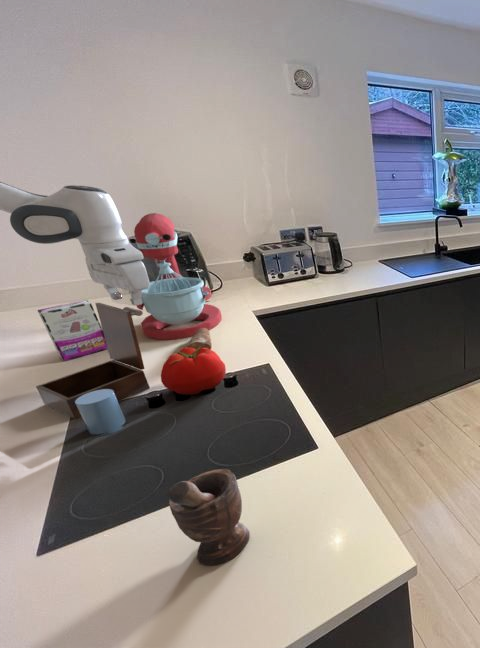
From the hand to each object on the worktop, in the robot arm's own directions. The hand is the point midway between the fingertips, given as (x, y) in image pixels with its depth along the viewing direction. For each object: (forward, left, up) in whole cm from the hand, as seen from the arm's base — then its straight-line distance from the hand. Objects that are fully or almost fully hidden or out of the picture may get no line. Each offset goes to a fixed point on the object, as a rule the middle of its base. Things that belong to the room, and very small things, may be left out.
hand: (127, 301), depth 108 cm
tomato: (+1, -18, -24) cm, 30 cm away
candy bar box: (-1, +36, -24) cm, 43 cm away
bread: (+18, +8, -24) cm, 31 cm away
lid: (-5, 0, -9) cm, 10 cm away
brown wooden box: (-13, 0, -24) cm, 27 cm away
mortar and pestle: (-29, -74, -24) cm, 83 cm away
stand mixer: (+27, +33, -24) cm, 49 cm away
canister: (-19, -17, -24) cm, 34 cm away
